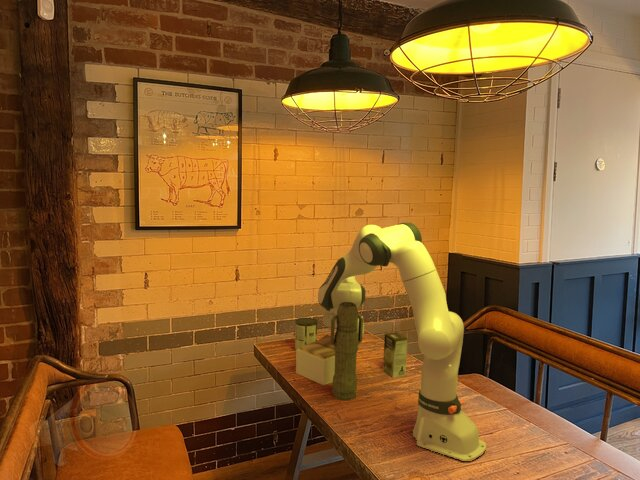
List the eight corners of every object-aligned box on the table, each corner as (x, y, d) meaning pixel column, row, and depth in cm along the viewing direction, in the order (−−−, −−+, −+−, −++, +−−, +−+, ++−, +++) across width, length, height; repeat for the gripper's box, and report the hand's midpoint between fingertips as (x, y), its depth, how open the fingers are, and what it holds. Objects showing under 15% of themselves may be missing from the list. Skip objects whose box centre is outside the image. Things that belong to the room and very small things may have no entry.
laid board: (338, 354, 196) (338, 350, 196) (325, 359, 191) (325, 355, 190) (314, 345, 206) (314, 341, 206) (300, 349, 200) (300, 346, 200)
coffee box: (382, 369, 208) (383, 333, 206) (395, 367, 210) (397, 331, 208) (393, 378, 199) (395, 340, 197) (406, 376, 202) (408, 338, 200)
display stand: (353, 373, 203) (354, 349, 202) (323, 385, 190) (324, 360, 189) (326, 362, 214) (326, 340, 213) (295, 373, 201) (296, 349, 200)
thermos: (364, 397, 181) (368, 305, 176) (335, 402, 176) (338, 308, 172) (353, 388, 189) (356, 299, 184) (325, 392, 184) (328, 301, 180)
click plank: (351, 346, 202) (351, 343, 201) (340, 353, 197) (339, 350, 197) (326, 337, 211) (326, 334, 211) (315, 344, 207) (315, 341, 206)
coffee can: (302, 344, 236) (303, 316, 234) (320, 349, 230) (321, 319, 229) (290, 350, 227) (290, 321, 225) (308, 355, 222) (309, 325, 220)
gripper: (368, 313, 197) (366, 346, 199) (331, 302, 211) (330, 333, 213) (358, 316, 192) (356, 349, 194) (320, 304, 206) (319, 336, 208)
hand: (342, 340), depth 204 cm, fingers closed, pressing on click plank
